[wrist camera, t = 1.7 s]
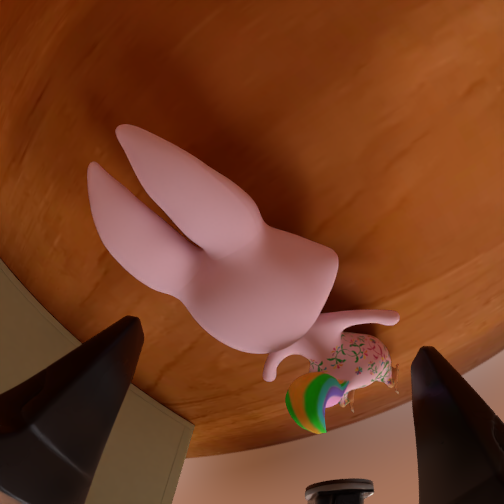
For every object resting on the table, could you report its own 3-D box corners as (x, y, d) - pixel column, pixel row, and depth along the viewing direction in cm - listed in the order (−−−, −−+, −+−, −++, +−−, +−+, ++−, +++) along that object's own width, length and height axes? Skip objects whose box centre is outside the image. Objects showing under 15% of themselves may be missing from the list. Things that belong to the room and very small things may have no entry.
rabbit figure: (416, 324, 14) (195, 56, 7) (450, 428, 9) (82, 72, 2) (316, 373, 16) (80, 191, 10) (324, 471, 11) (-18, 309, 5)
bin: (195, 425, 19) (161, 539, 11) (125, 438, 24) (94, 514, 16) (-25, 225, 13) (-120, 311, 5) (-33, 299, 18) (-89, 364, 10)
